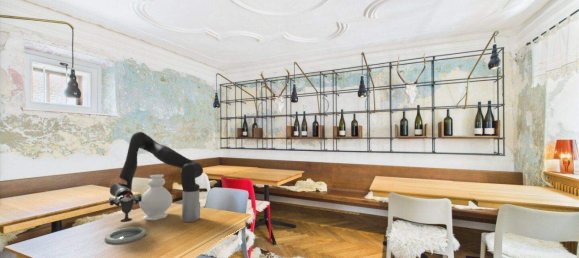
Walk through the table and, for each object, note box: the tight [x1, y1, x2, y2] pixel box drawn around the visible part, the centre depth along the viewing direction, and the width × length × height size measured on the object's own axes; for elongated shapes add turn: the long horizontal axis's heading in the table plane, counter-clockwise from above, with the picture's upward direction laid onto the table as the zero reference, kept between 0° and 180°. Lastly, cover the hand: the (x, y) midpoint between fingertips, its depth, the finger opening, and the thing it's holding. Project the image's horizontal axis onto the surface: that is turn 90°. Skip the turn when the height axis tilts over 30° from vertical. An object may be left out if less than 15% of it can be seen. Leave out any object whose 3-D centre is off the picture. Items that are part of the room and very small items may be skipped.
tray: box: [104, 226, 147, 245], centre depth 120 cm, size 17×17×2 cm
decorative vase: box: [138, 173, 173, 221], centre depth 150 cm, size 18×18×25 cm
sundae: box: [119, 190, 135, 223], centre depth 121 cm, size 7×7×15 cm
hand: (127, 202), depth 119 cm, fingers closed on sundae, 6 cm apart
